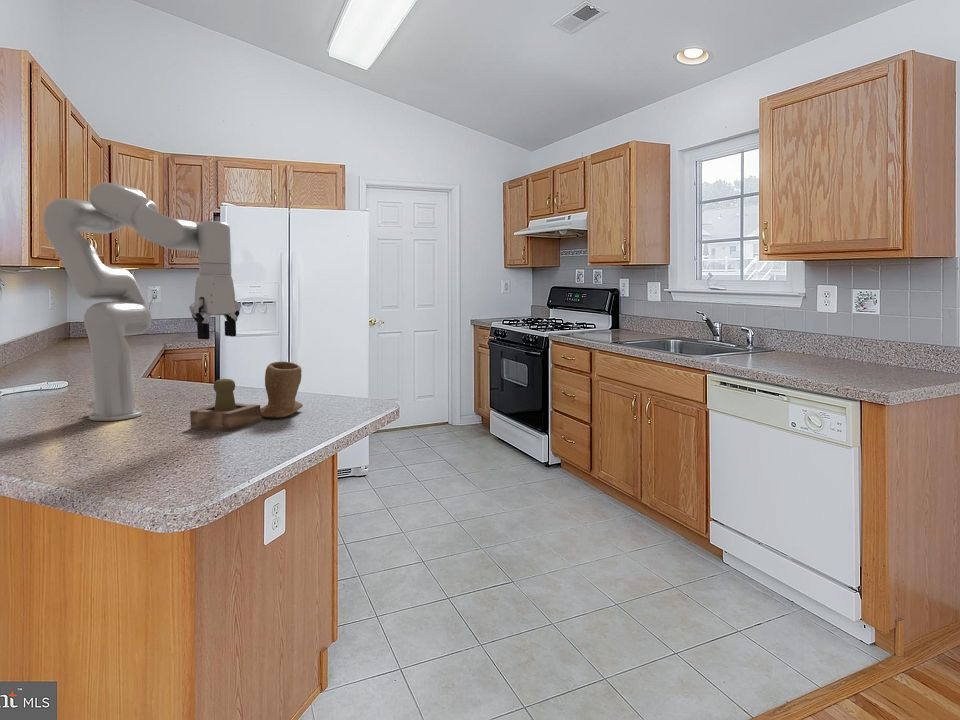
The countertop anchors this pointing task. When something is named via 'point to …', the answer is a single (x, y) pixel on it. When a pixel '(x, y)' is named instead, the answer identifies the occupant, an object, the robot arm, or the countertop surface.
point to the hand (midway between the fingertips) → (217, 337)
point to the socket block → (225, 417)
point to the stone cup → (281, 389)
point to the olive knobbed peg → (224, 395)
